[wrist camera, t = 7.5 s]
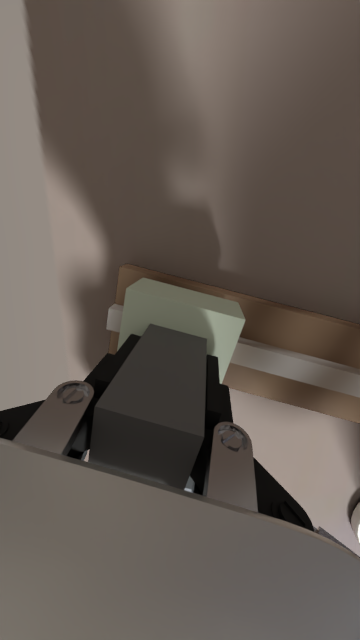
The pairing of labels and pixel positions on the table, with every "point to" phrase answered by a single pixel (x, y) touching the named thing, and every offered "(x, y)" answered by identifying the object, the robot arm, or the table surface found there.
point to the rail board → (276, 349)
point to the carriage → (163, 381)
